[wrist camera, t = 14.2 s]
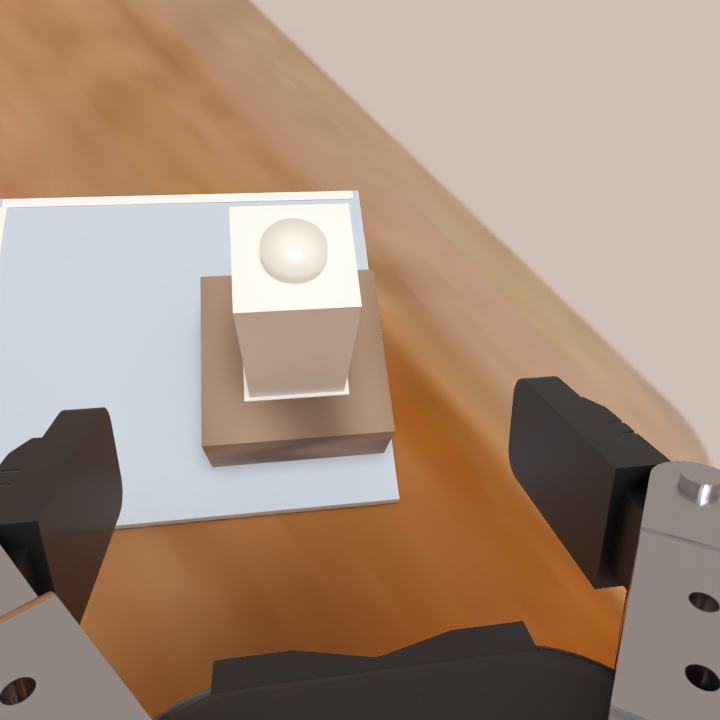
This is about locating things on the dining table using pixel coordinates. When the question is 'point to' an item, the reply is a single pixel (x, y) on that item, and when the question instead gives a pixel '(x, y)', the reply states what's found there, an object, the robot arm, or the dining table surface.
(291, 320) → the block
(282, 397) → the build board
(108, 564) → the dining table surface
